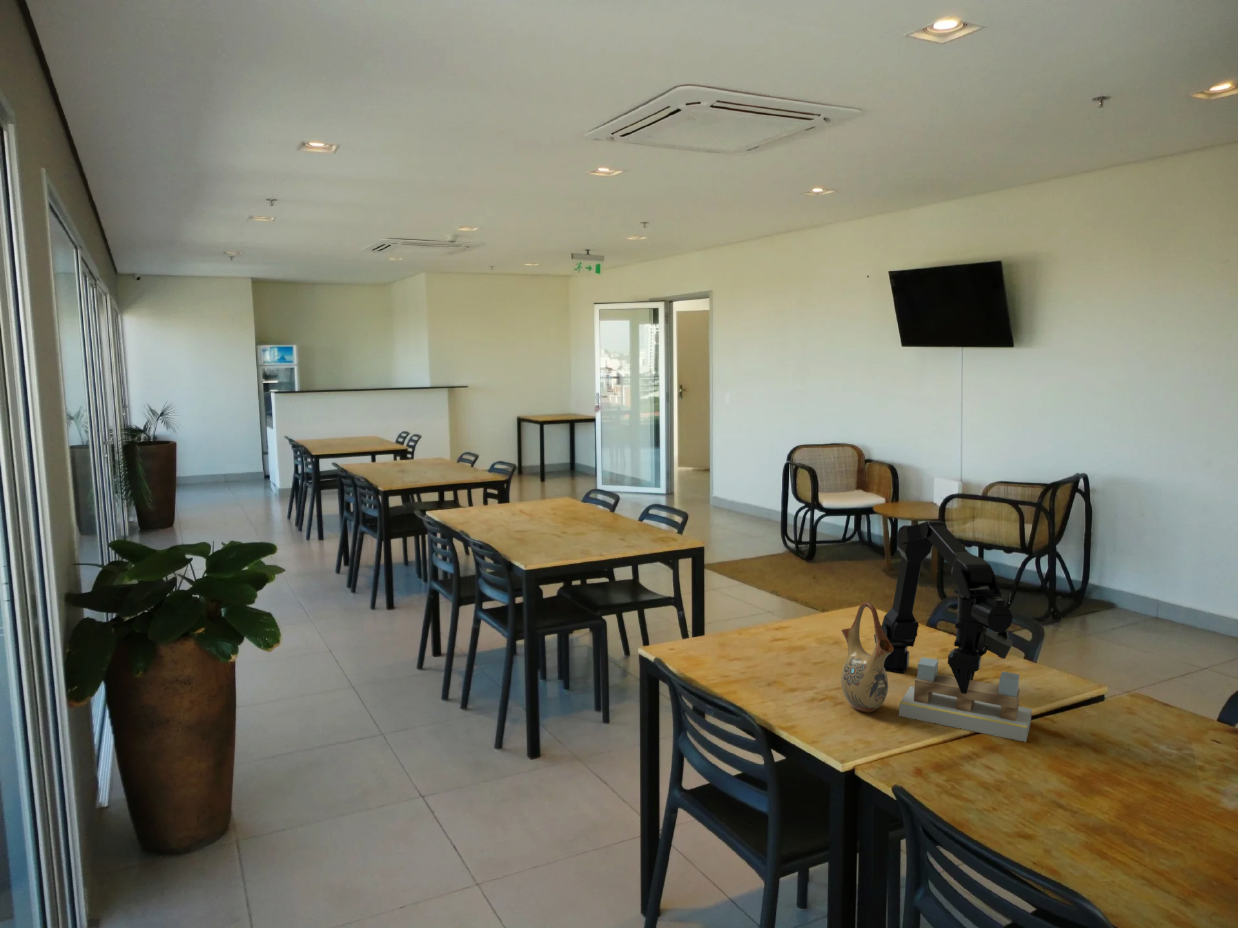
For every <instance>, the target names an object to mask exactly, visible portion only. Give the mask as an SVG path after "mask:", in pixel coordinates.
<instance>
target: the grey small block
mask: <svg viewBox="0 0 1238 928" xmlns="http://www.w3.org/2000/svg"><path fill="white" fill-rule="evenodd" d="M938 670H939V660H938V659H935V658H934V659H933V658H930V657H929V658H928V657H921V659H920V660H919V662H917V676H916V677H917V679H921V680H927V681H932V682H934V680H935V678H936V676H937V674H938Z"/></svg>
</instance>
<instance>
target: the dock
mask: <svg viewBox="0 0 1238 928" xmlns="http://www.w3.org/2000/svg"><path fill="white" fill-rule="evenodd" d="M914 688H915V686H909V688H908V689H907V691H906V692H905V694H904V695H903V697H902V699H901V700H900V702H899V711H898V717H901V716H902V717H903V718H908V719H911V720H912V719H913V720H916V719H917V720H918V721H920V722H925V723H926V722H927V723H932V724H935V723H936V725H941V726H946V727H950V728H954V729H955V728H956V729H960V728H961V730H966V731H970V732H976V733H979V734H980V733H981V734H985V735H990V736H995V737H998V738H1005V739H1008V740H1009V739H1010V740H1013V739H1014V741H1018V742H1023V741H1024V743H1027V739H1028V735H1029V731H1030V727H1031V723H1032V712H1033V711H1032V709H1033V708H1030V707H1024V706H1019V707H1018V713H1017V717H1016V721H1013V720H1007V719H1002V718H1000V714H1001V706H1000V705H995V704H990V703H984V702H979V701H975V703H974V705H973V707H972V710H971V712H966V711H961V710H956V701H957V697H953V696H947V695H942V694H937V693H933V695H932V697H931V699H930V700H929V702H928V704H926V703H920V702H915V701H914ZM917 720H916V721H917Z"/></svg>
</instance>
